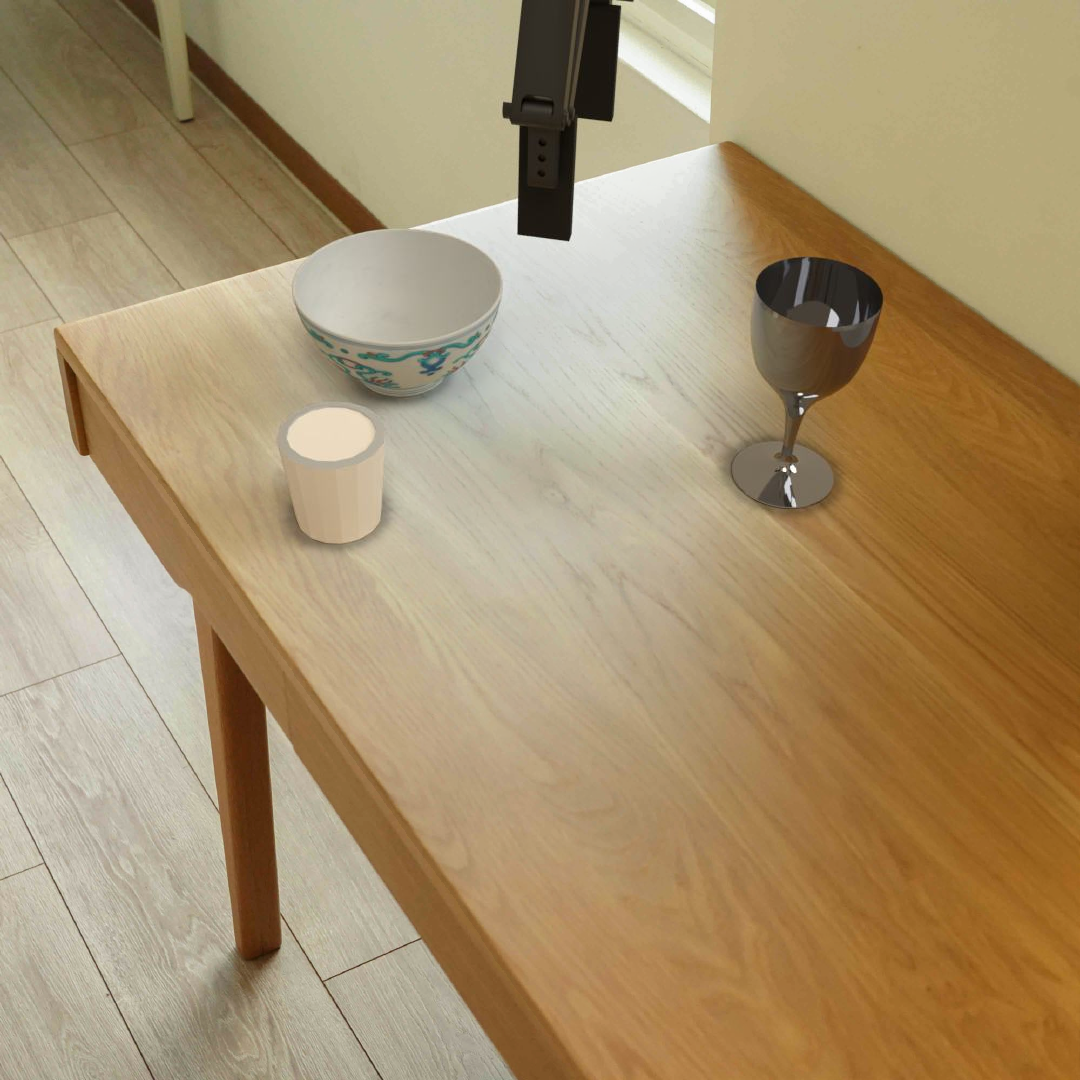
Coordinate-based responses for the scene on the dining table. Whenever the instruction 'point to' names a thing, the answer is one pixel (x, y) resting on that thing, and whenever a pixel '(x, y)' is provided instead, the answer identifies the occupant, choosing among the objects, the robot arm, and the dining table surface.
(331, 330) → the chinaware
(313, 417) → the shot glass
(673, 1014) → the dining table surface
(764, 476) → the wine glass
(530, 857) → the dining table surface
